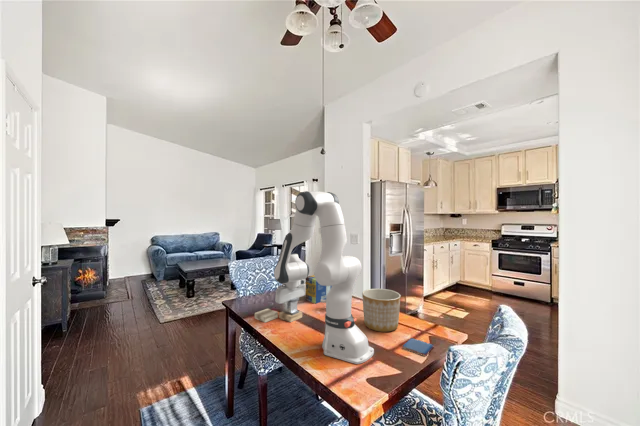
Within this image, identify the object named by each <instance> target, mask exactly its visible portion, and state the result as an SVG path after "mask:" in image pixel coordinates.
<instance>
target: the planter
mask: <svg viewBox="0 0 640 426" xmlns="http://www.w3.org/2000/svg"><path fill="white" fill-rule="evenodd" d="M361 295H362V296H361V297H362V308H363V309H362V311H363V322H364V323H363V324H365V326H366V328H368V329H370V330H371V331H375V332H380V333H385V332H386V333H387V332H393V331H395V330H397V329H398V327H399V319H400V308H401V296H402V295H401V294H400V293H399V292H397V291H395V290H392V289H387V288H369V289H365V290H364V291H362V293H361Z"/></svg>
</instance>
